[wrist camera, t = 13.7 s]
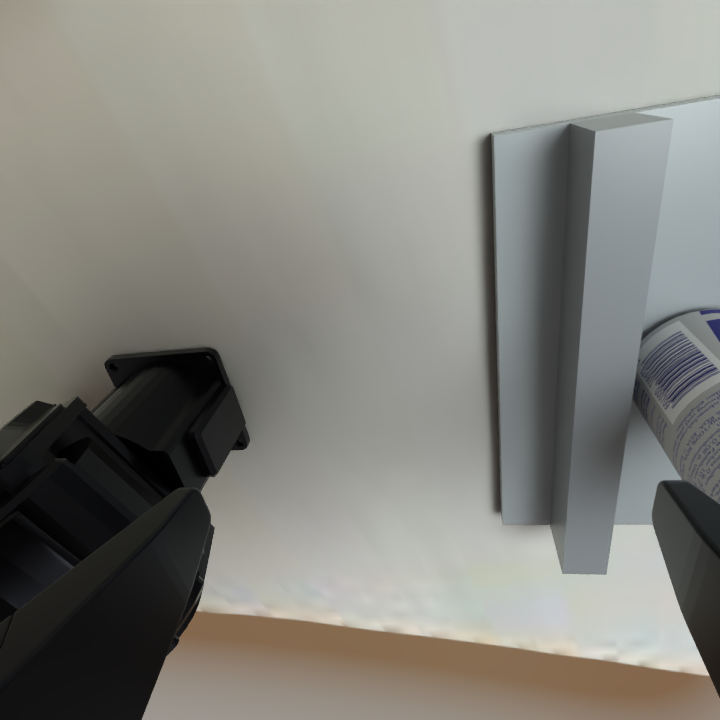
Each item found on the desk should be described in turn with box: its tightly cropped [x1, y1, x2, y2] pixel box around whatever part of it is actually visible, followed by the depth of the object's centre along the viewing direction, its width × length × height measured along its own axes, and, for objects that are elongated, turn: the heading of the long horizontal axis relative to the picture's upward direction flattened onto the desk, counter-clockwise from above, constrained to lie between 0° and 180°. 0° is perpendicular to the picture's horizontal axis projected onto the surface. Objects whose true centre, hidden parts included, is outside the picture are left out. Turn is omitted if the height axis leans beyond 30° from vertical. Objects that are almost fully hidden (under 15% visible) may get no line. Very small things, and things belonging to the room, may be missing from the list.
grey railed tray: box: [491, 95, 720, 575], centre depth 19 cm, size 16×20×4 cm
